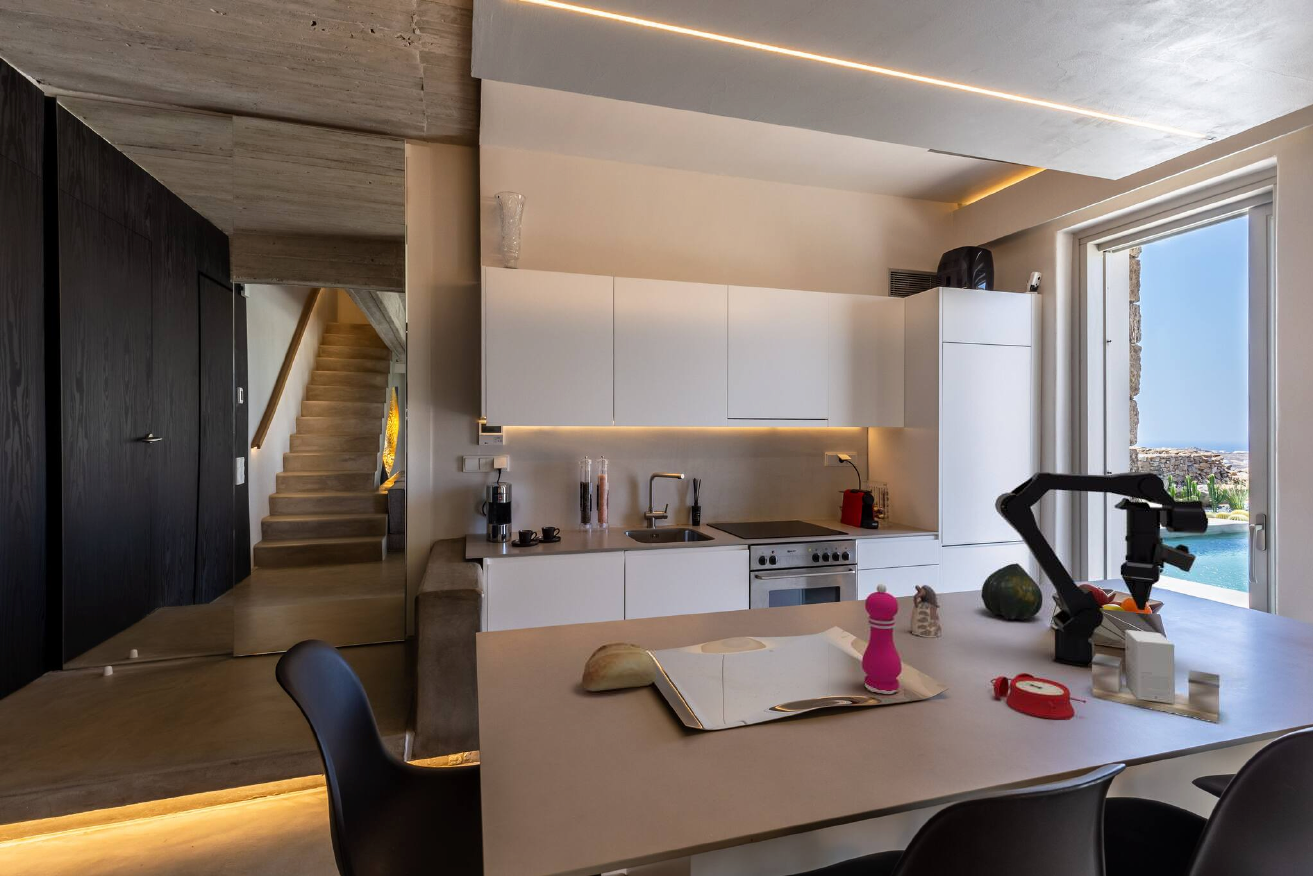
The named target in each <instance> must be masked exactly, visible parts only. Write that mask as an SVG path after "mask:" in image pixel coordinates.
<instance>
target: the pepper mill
mask: <svg viewBox="0 0 1313 876" xmlns="http://www.w3.org/2000/svg"><path fill="white" fill-rule="evenodd" d="M864 603H865V604H864V608H865V611H866V613H868V617H867V619H868V621H867V625H868V626H869V628H870V629H869V630H870V633H869V635H870V637H869V640H868V644H867V646H866V649H865V651H864V653H863V655H862V659H861V669H862V670H863V672H864V674H866V675H865V676H864V681H863V682H865V683H866V684H867V685H869V686H871V687H873V688H876V689H878V690H886V691H892V690H897V689H898V688H899V689H900V681H899V679H897V678H898V677H899V676H900V674H902V668H903V667H902V661H901V658H900V655H899V652H898V650H897V648H896V646H895V641H894V628H896V618H894V617H895V616H896V615H897V614H898V611H899V604H898V601H897V599H896V597H895V596H894V595H892V594H890V593H889V592H887V586H886V585H885V584H883V583H880V584H878V585H877V586H876V592H873V593H872V592H871V593H870V594H869V595H868V596H867V597H866V599H865V602H864Z"/></svg>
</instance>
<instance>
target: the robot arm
mask: <svg viewBox="0 0 1313 876" xmlns="http://www.w3.org/2000/svg"><path fill="white" fill-rule="evenodd" d="M1051 490H1053V491H1070V492H1071V491H1072V492H1073V491H1074V492H1089V493H1090V492H1091V493H1107V494H1108V493H1109V494H1110V493H1111V494H1115V495H1118V496H1119V495H1120V496H1124V497H1123V498H1122V500H1120V501H1119V502H1118V503H1116V504H1115V505H1114V508H1115V509H1118V510H1121V511H1126V516H1125V517H1126V518H1125V519H1126V529H1125V530H1126V535H1125V537H1124V539H1125V540H1124V541H1125V542H1126V552H1125V553H1126V554H1125V555H1124V556H1125V557H1124V558H1125V559H1124V560H1125V561H1124V562H1123V563H1122V564H1120V576H1121V578H1122V580H1123V581H1124V583H1125V586H1126V588H1127V590H1128V591H1129V593H1130V595H1131V598H1132V599H1133V601H1134V605H1135V606H1136V608H1137V610H1139V611H1145V610H1146V606H1147V603H1148V602H1149V601H1150V597H1151V592H1152V589H1153V585H1155V584H1156V583H1158V582H1159V581H1160V577H1161V574H1162V573H1163V572H1164V569H1165V564H1168V565H1170V566H1172V567H1176V568H1178V569H1179V570H1181V571H1183V572H1186V573H1190V570H1191V569H1192V566H1193V565H1194V562H1195V560H1196V558H1197V557H1196V555H1195V554H1194V553H1190V550H1189V546H1187V545H1184V544H1181V543H1180V544H1178V545H1177V546H1175V547H1173V546H1171V545H1167V544H1164V540H1163V539H1164V538H1163V537H1162V536H1161V527H1162V528H1165V530H1166V531H1167V532H1168V533H1171V534H1172V533H1173V534H1176V533H1178V534H1201V535H1203V534H1205V533H1206V532H1207V530H1208V526H1209V517H1207V513H1206V510H1205V508H1204V507H1203V501H1202V500H1196V499H1195V500H1194V499H1192V500H1175V499H1174V497H1172V495H1171V494H1170V493H1169V492H1168V491H1167V490H1166V488H1165V483H1164V481H1163V479H1162V478H1161V477H1160V476H1159V475H1158V474H1156V473H1153V472H1145V471H1132V472H1131V471H1130V472H1129V471H1127V472H1122V473H1121V472H1120V473H1115V474H1114V473H1113V474H1107V475H1104V474H1102V475H1101V474H1100V475H1099V474H1083V473H1082V474H1080V473H1062V472H1061V473H1058V472H1048V471H1037V472H1035V473H1034V474H1033V475H1032V476H1031V477H1029V478H1028V479H1026V481H1024V482H1023V483H1021V484H1020V485H1018V486H1016V487H1015V488H1014V489H1013V490H1011V491H1010V492H1005V493H1002V494H1000V495H999V496H998V497H997V498H996V500H995V504H994V506H995V507H994V508H995V510H996V512H997V513H998V515H1000V516H1001V518H1003V520H1005V522H1006V523H1007V524H1008V525H1009V526H1010V527H1011V528H1012V529H1013V530H1015V532H1016V533H1018V534H1019V536H1020V537H1021V539H1022V540H1023V542H1024V543H1025V545H1026V546H1027V548H1028V550H1029V551H1030V552H1031V554H1032V555H1033V557H1034V559H1035V560H1036V561H1037V563H1038V564H1039V566H1040V567H1041V569H1042V570H1043V572H1044V573H1045V575H1046V576H1047V578H1048V579H1049V581H1050V583H1051V584H1052V585H1053V587H1054V588H1055V591H1056V595H1057V598H1058V600H1059V603H1060V605H1061V607H1062V609H1060V610H1059V611H1058V612H1056V614H1054V615H1053V616H1052V618H1051V619H1052V622H1053V623H1054V626H1055V627H1056V629H1055V630H1054V656H1053V658H1052V661H1053V662H1057V663H1063V664H1068V665H1074V666H1079V667H1084V668H1089V667H1090V665H1092V660H1093V658H1094V657H1095V642H1094V640H1092V637H1093V634H1094V632H1095V631H1096V629H1098V628H1099V627H1100V626H1101V625H1102V624H1103V621H1104V617H1105V616H1104V614H1103V611H1102V609H1104V606H1102V605H1101V604H1100V603H1099V602H1098V601H1097V598H1096V597H1095V594H1094V593H1093V591H1092V590H1091V589H1090V588H1088V587H1087V586H1085V585H1081V586H1080V587H1079V586H1078V585H1077V584H1076V583H1075V581H1074V580H1073V578H1072V576H1070V573H1069V572H1068V571H1067V569H1066V568H1065V566H1064V564H1063V563H1062V562H1061V560H1060V559H1059V556H1057V553H1055V551H1054V549H1053V548H1052V547H1051V545H1050V544H1049V542H1048V541H1047V540H1046V538H1045V536H1044V535H1043V533H1042V532H1041V530H1040V528H1039V527H1038V524H1037V521H1036V518H1035V515H1034V512H1033V510H1032V507H1033V506H1034V505H1036V504H1037V503H1038V502H1039V501H1040V500H1041V499H1042V497H1043V496H1045V494H1046V493H1048V492H1049V491H1051ZM1127 497H1128V498H1127ZM1129 498H1133V499H1139V500H1143V501H1131V500H1130V499H1129ZM1148 502H1149V503H1152V504H1155V505H1161V507H1158V506H1150V504H1149V503H1148Z"/></svg>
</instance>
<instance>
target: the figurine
mask: <svg viewBox="0 0 1313 876" xmlns="http://www.w3.org/2000/svg"><path fill="white" fill-rule="evenodd" d="M914 589H915V590H916V591H917V592H916V593H915V594H914V595H913V601H912V602H913V605H914V606H913V609H912V612H911V615H910V616H911V617H910V622H909V628H910V629H911V630H910V629H909V630H910V632H911V631H912V632H913V633H917V634H919V635H924V636H938V635H940V634H941V635H942V627H941V623H940V619H939V612H938V608H941V607H940V606H941V605H940V604H938V598H937V595H936V591H935V590H934V589H933V588H932V587H931V585H927V584H924V585H921V587H920V586H919V585H918V584H917V585H915V586H914ZM919 599H920V600H919ZM918 600H919V601H918Z"/></svg>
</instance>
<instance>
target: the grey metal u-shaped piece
mask: <svg viewBox="0 0 1313 876" xmlns="http://www.w3.org/2000/svg"><path fill="white" fill-rule="evenodd" d="M1091 667H1092V668H1091V672H1092V673H1091V677H1092V679H1091V681H1092V682H1091V688H1092V698H1097V699H1102V700H1107V701H1110V702H1111V701H1112V702H1116V703H1119V704H1124V703H1126V704H1125V705H1129V704H1132V705H1131V706H1134V705H1135V706H1134V707H1138V706H1142V707H1141V708H1143V707H1146V708H1145V709H1148V708H1152V709H1155V710H1154V711H1157V710H1162V711H1167V712H1171V713H1178V714H1180V715H1187V716H1190V717H1196V718H1198V719H1197V720H1199V719H1204V720H1210V721H1212V722H1211V723H1213V722H1217V723H1216V724H1218V720H1219V717H1218V716H1219V715H1220V674H1215V673H1210V672H1206V671H1205V672H1204V671H1203V672H1202V671H1197V670H1191V669H1189V670H1188V679H1187V680H1188V681H1187V682H1188V695H1183V694H1178V693H1175V703H1166V702H1158V701H1149V700H1141V699H1138V698H1137V697H1136V696H1135V695H1134V694H1133V692H1132V691H1131V690H1130V689H1129V687H1128V686H1127V685H1126V683H1123V657H1119V656H1115V655H1114V656H1113V655H1108V654H1102V653H1095V654H1094V658H1093V660H1092V663H1091ZM1152 709H1151V710H1152ZM1162 711H1161V712H1162ZM1171 713H1170V714H1171ZM1180 715H1179V716H1180ZM1190 717H1189V718H1190ZM1204 720H1203V721H1204Z"/></svg>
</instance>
